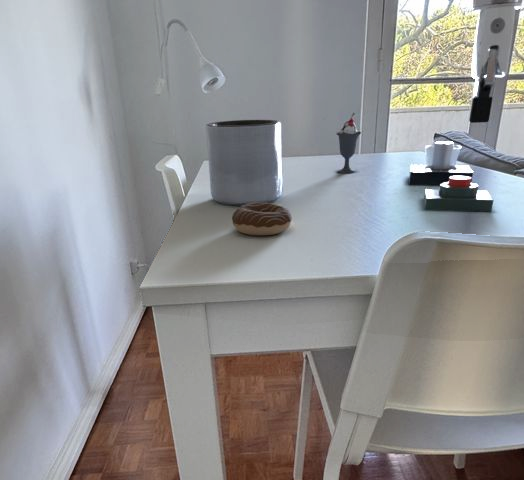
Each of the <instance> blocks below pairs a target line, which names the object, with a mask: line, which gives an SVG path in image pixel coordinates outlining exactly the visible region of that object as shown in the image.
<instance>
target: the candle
mask: <svg viewBox="0 0 524 480" xmlns="http://www.w3.org/2000/svg"><path fill="white" fill-rule="evenodd" d="M434 145H435V144H430V145H426V146H425V165H432V159H433V152H434ZM461 149H462V146H461V145H457V144H453V149H452V155H451V162H450V166H457V162H458V159H459V155H460V153H461Z"/></svg>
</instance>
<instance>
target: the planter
mask: <svg viewBox="0 0 524 480" xmlns="http://www.w3.org/2000/svg"><path fill="white" fill-rule="evenodd" d="M205 132H206V144H207V145H206V146H207V157H208V173H209V186H210V195H211V198H212V199H213V200H215V201H216V203H219V204H223V205H228V206H230V205H231V206H243V205H246V204H249V203H273V202H274V201H277V200H278V199H279V198H280V197H281V196H282V195H283V192H284V191H283V190H284V184H283V182H284V181H283V179H284V178H283V149H282V147H283V143H282V142H283V141H282V139H283V137H282V136H283V135H282V134H283V133H282V122H281V121H280V120H278V119H277V120H276V119H238V120H237V119H236V120H234V119H233V120H223V121H222V120H221V121H213V122H208V123H207V124H206V125H205Z"/></svg>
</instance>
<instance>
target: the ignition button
mask: <svg viewBox="0 0 524 480" xmlns="http://www.w3.org/2000/svg"><path fill="white" fill-rule="evenodd" d="M470 183H472V182H471V177H467V176H451V177H449V183H448V186H452V187H470Z"/></svg>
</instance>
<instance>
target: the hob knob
mask: <svg viewBox="0 0 524 480" xmlns="http://www.w3.org/2000/svg"><path fill="white" fill-rule="evenodd" d="M433 145H434V152H433V159H432V167H431V168H432V169H436V170H447V169H449V168H450V162H451V155H452V149H453V145H454V142H453V141H446V140H444V141H436V142H434V144H433Z"/></svg>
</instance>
